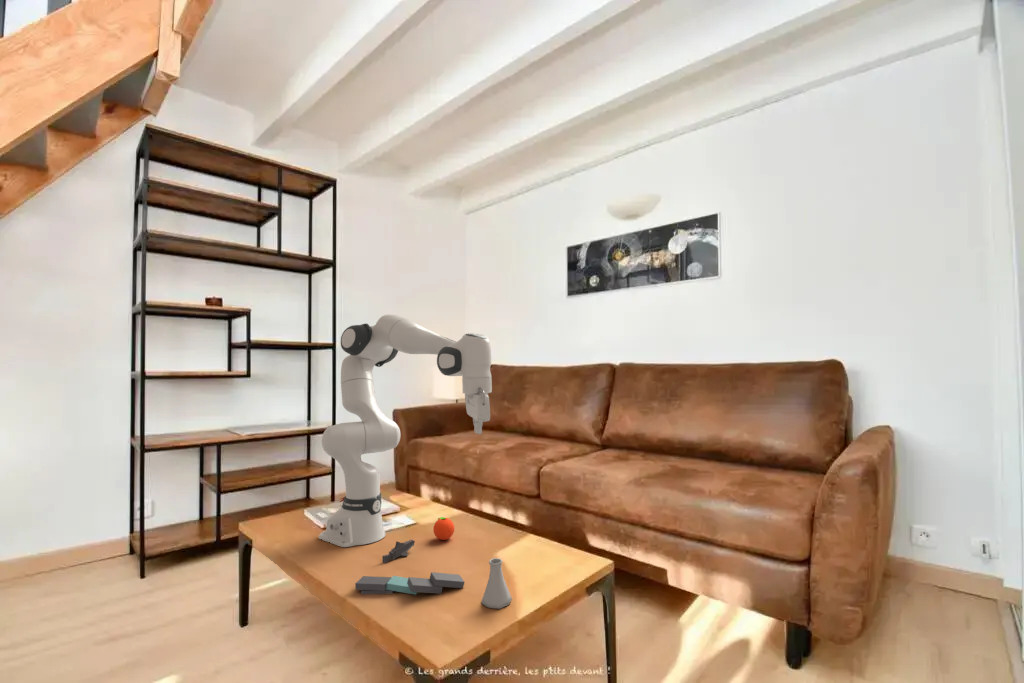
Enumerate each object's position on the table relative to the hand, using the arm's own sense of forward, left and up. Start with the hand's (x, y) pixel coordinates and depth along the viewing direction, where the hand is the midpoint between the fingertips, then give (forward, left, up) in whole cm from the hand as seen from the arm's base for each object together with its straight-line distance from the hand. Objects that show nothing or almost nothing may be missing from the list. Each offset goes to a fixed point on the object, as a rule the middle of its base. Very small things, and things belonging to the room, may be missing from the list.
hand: (478, 433), depth 145 cm
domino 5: (+3, -16, -36) cm, 40 cm away
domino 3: (-5, -23, -36) cm, 44 cm away
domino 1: (-13, -26, -36) cm, 46 cm away
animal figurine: (-24, -8, -38) cm, 45 cm away
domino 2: (-12, -25, -37) cm, 47 cm away
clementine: (-19, +9, -37) cm, 43 cm away
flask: (+16, -21, -37) cm, 46 cm away
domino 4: (-1, -21, -36) cm, 42 cm away
